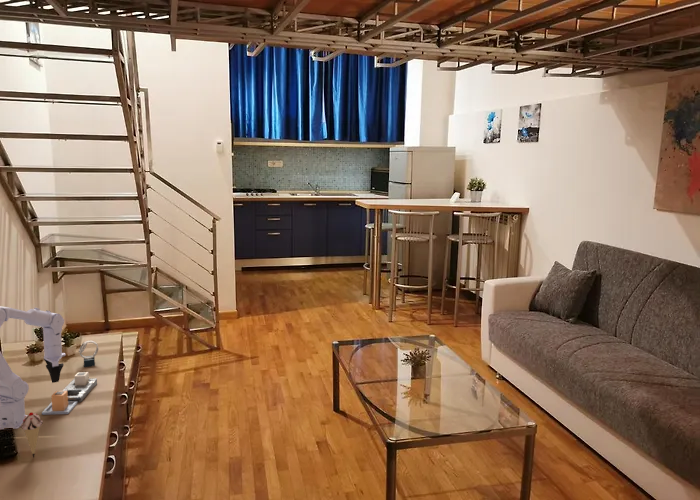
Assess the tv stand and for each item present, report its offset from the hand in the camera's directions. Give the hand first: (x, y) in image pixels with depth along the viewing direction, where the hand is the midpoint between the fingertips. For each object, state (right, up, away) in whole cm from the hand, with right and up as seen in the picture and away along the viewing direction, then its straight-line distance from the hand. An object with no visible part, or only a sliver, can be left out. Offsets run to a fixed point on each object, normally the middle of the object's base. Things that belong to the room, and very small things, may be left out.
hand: (54, 378), depth 198 cm
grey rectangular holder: (+4, -8, +10) cm, 13 cm away
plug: (+5, -10, -4) cm, 12 cm away
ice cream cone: (+14, -16, -36) cm, 42 cm away
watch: (-6, -4, +39) cm, 40 cm away
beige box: (+3, -8, +15) cm, 17 cm away
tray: (+5, -11, -4) cm, 12 cm away
